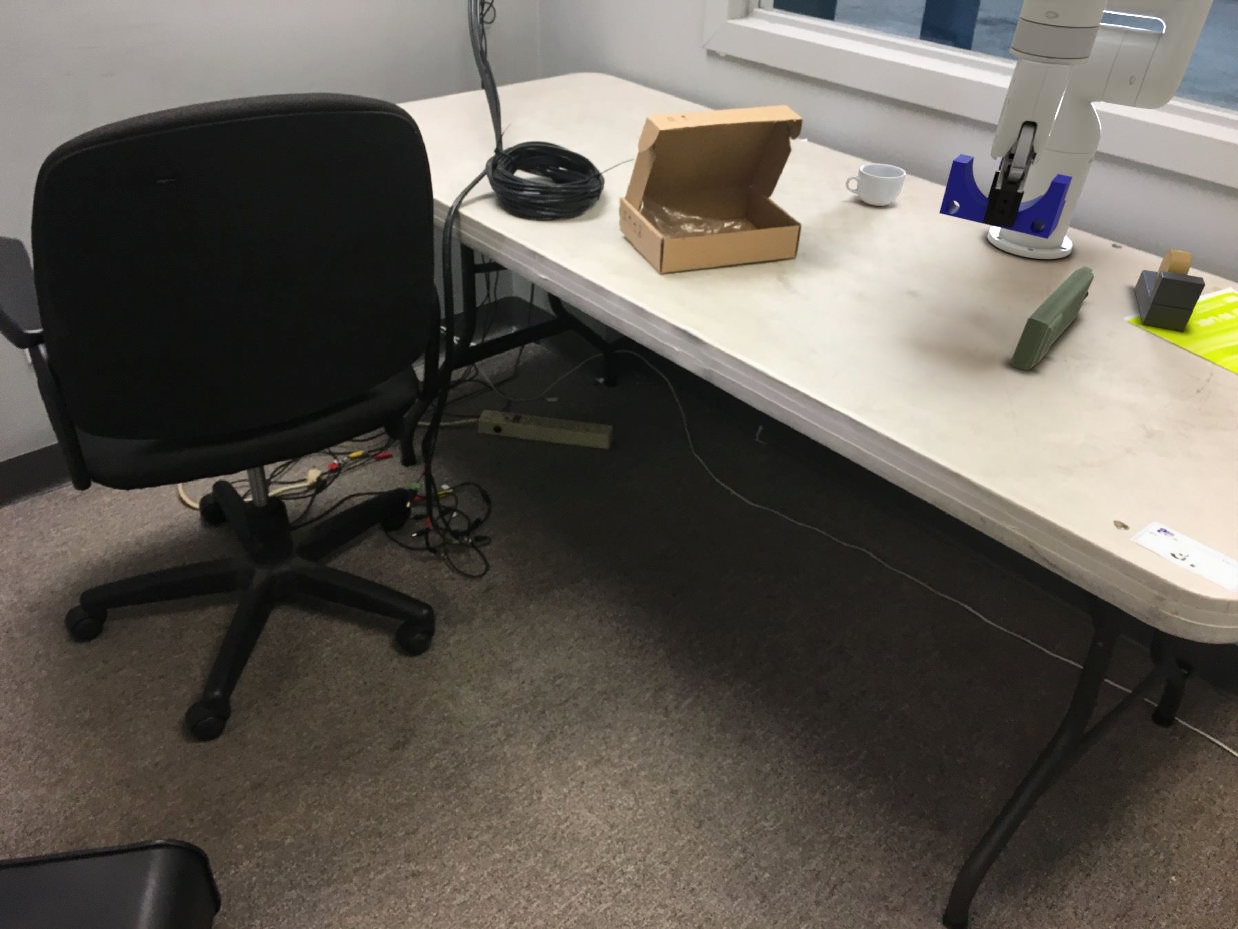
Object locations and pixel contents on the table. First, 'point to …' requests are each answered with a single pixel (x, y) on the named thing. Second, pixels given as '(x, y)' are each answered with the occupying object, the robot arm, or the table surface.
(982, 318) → the table surface
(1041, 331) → the handheld radio
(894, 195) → the teacup
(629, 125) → the table surface
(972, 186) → the blue semicircular clamp bracket
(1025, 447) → the table surface
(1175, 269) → the tape dispenser
